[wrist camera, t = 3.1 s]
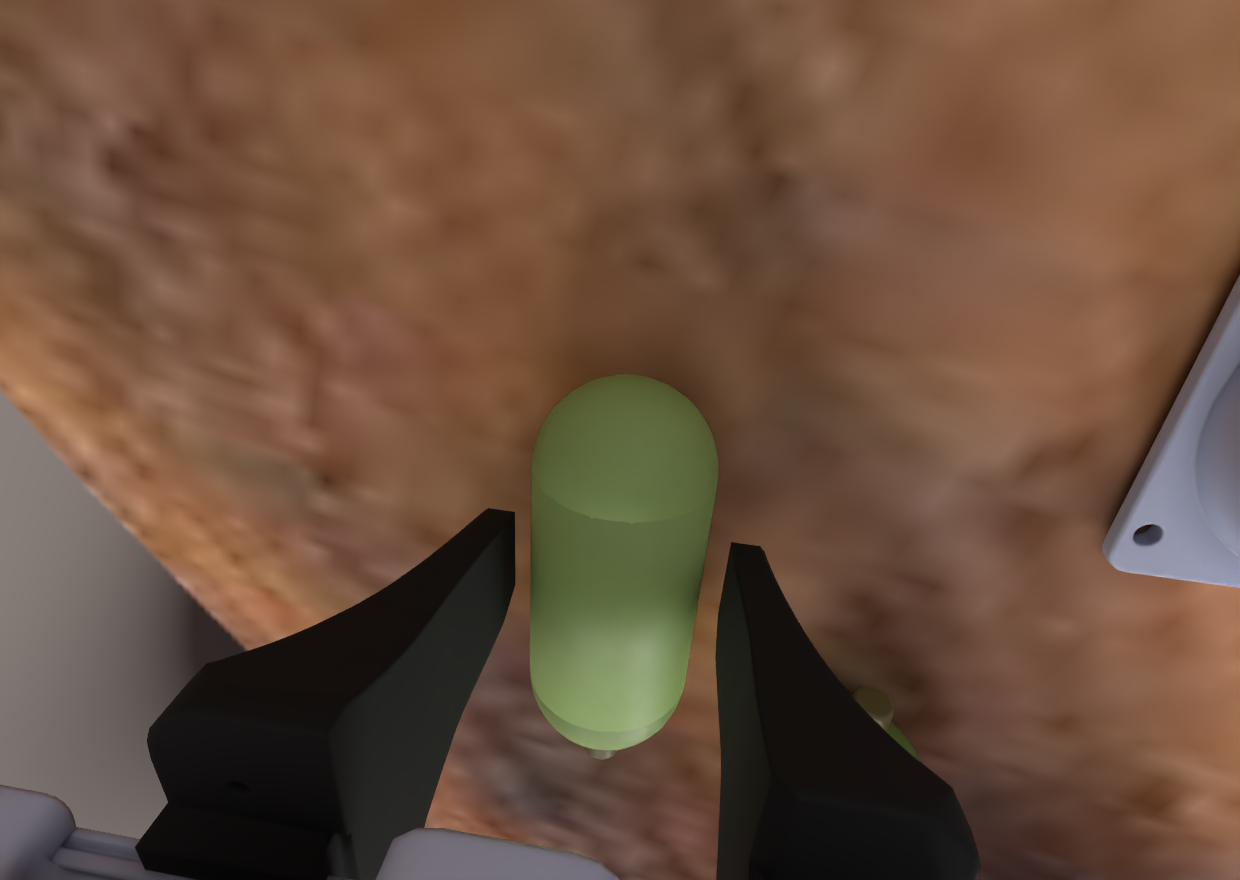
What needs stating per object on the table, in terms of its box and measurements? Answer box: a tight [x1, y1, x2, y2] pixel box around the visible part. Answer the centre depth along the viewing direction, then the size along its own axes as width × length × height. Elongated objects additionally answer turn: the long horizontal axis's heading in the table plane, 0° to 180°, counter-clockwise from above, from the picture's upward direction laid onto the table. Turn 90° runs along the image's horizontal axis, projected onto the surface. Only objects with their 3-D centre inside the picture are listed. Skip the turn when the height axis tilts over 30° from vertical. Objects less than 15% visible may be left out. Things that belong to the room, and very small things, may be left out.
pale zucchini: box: [530, 374, 719, 759], centre depth 15 cm, size 10×4×4 cm, turn 176°
